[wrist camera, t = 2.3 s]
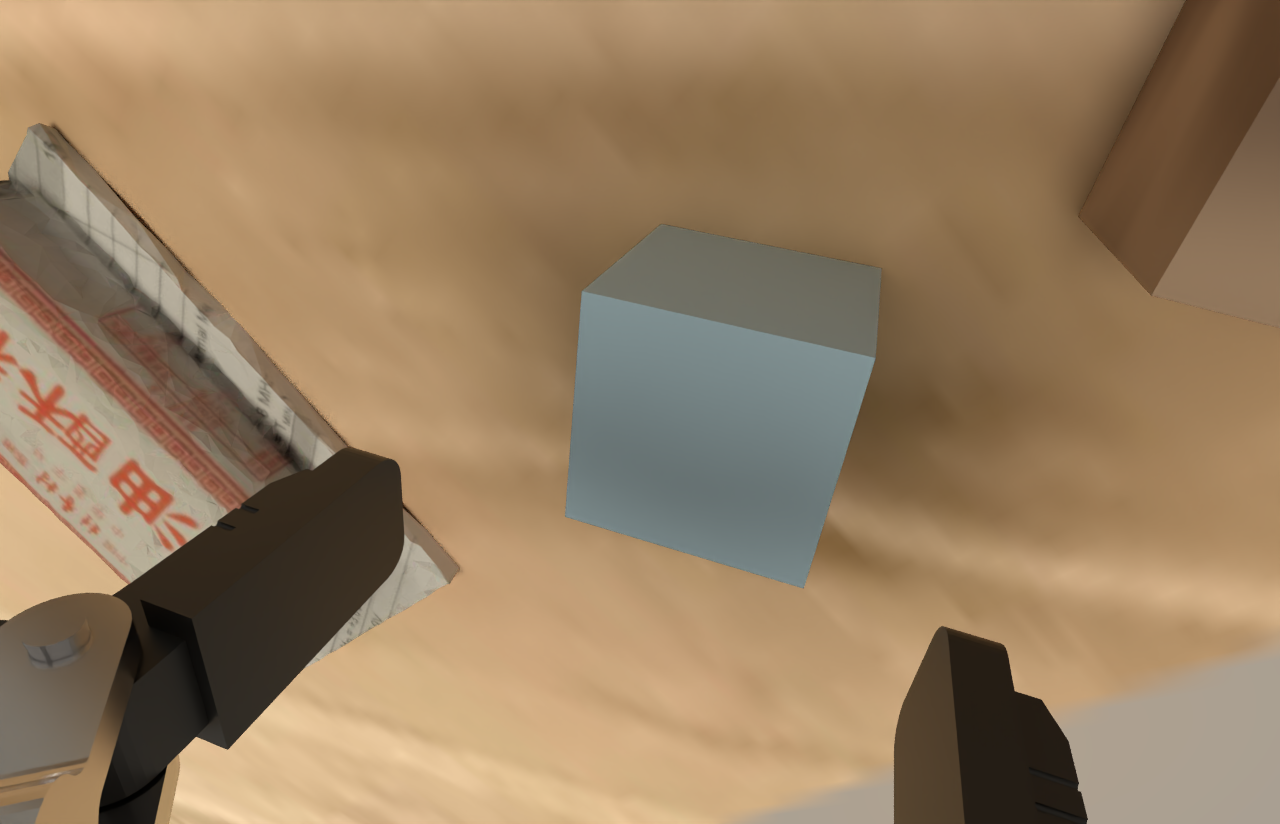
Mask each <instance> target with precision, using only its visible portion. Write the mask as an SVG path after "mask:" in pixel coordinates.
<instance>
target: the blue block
mask: <svg viewBox="0 0 1280 824" xmlns="http://www.w3.org/2000/svg"><path fill="white" fill-rule="evenodd" d="M881 272H882V268H878V267H873V266H868V265H863V264H858V263H853V262H848V261H843V260H838V259H833V258H828V257H823V256H818V255H813V254H808V253H803V252H798V251H793V250H788V249H783V248H778V247H773V246H768V245H763V244H758V243H753V242H749V241H744V240H739V239H734V238H729V237H724V236H719V235H714V234H709V233H704V232H699V231H694V230H689V229H684V228H679V227H674V226H669V225H664V224H661V225H659V226H658V227H657V228H656V229H655V230H653V231H652V232H651V233H650V234H649V235H648V236H646V237H645V238H644V239H643V240H642V241H640V242H639V243H638V244H637V245H636V246H635V247H633V248H632V249H631V250H630V251H629V252H627V253H626V254H625V255H624V256H623V257H622V258H620V259H619V260H618V261H617V262H616V263H614V264H613V265H612V266H611V267H610V268H609V269H607V270H606V271H605V272H604V273H603V274H601V275H600V276H599V277H598V278H597V279H596V280H594V281H593V282H592V283H591V284H590V285H588V286H587V287H586V288H585V289H584V290H583V291H582V296H581V309H580V323H579V336H578V350H577V363H576V377H575V390H574V404H573V417H572V431H571V444H570V458H569V471H568V485H567V498H566V511H565V517H568V518H571V519H574V520H578V521H581V522H584V523H588V524H591V525H594V526H598V527H601V528H604V529H608V530H611V531H614V532H617V533H621V534H624V535H627V536H631V537H634V538H637V539H641V540H644V541H647V542H651V543H654V544H657V545H661V546H664V547H667V548H671V549H674V550H677V551H681V552H684V553H687V554H691V555H694V556H697V557H701V558H704V559H707V560H711V561H714V562H717V563H721V564H724V565H727V566H731V567H734V568H737V569H741V570H744V571H747V572H751V573H754V574H757V575H761V576H764V577H767V578H771V579H774V580H777V581H780V582H784V583H787V584H790V585H794V586H797V587H800V588H804V586H805V582H806V579H807V576H808V573H809V570H810V566H811V563H812V560H813V557H814V554H815V550H816V547H817V544H818V541H819V538H820V534H821V531H822V528H823V525H824V522H825V518H826V515H827V512H828V509H829V506H830V503H831V499H832V496H833V493H834V490H835V487H836V483H837V480H838V477H839V474H840V471H841V467H842V464H843V461H844V458H845V455H846V451H847V448H848V445H849V442H850V439H851V435H852V432H853V429H854V426H855V423H856V419H857V416H858V413H859V410H860V407H861V403H862V400H863V397H864V394H865V391H866V387H867V384H868V381H869V378H870V375H871V372H872V368H873V365H874V362H875V359H876V346H877V332H878V317H879V302H880V287H881Z"/></svg>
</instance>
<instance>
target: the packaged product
mask: <svg viewBox="0 0 1280 824" xmlns="http://www.w3.org/2000/svg"><path fill="white" fill-rule="evenodd" d="M8 175H9V180H6V181H0V463H1V464H2V465H3V466H4V467H5V468H6V469H7V470H8V471H9V472H10V473H12V474H13V475H14V476H15V477H16V478H17V479H18V480H19V481H21V482H22V483H23V484H24V485H25V486H26V487H27V488H28V489H29V490H30V491H31V492H32V493H33V494H34V495H35V496H36V497H37V498H38V499H39V500H40V501H41V502H42V503H43V504H45V505H46V506H47V507H48V508H49V509H50V510H51V511H52V512H53V513H54V514H55V515H56V516H57V518H58V519H59V520H60V521H62V522H63V523H64V524H65V525H66V526H67V527H68V528H69V529H70V530H71V531H72V532H74V533H75V534H76V535H77V536H78V537H79V538H80V539H81V540H82V541H83V542H84V543H85V544H86V545H88V546H89V547H90V548H91V549H92V550H93V551H94V552H95V553H96V554H97V555H98V556H99V557H100V558H101V559H102V560H103V561H104V562H105V563H106V564H107V565H108V566H109V567H110V568H111V569H112V570H113V571H114V572H115V573H116V574H117V575H118V576H119V577H120V578H121V579H122V580H124V581H125V582H126V583H128V584H130V583H131V582H133V581H134V580H135V579H137V578H138V577H140V576H141V575H142V574H144V573H145V572H147V571H148V570H149V569H151V568H152V567H154V566H155V565H156V564H158V563H159V562H161V561H162V560H163V559H165V558H166V557H168V556H169V555H170V554H172V553H173V552H175V551H176V550H177V549H179V548H180V547H182V546H183V545H184V544H186V543H187V542H189V541H190V540H191V539H193V538H194V537H196V536H197V535H198V534H200V533H201V532H203V531H204V530H205V529H207V528H208V527H210V526H211V525H212V526H216V525H217V522H218V520H219V519H221V518H222V517H224V516H225V515H226V514H228V513H229V512H231V511H232V510H233V509H235V508H238V509H239V508H240V507H241V504H242V503H243V502H244V501H246V500H247V499H249V498H250V497H251V496H253V495H254V494H256V493H257V492H258V491H260V490H261V489H263V488H264V487H265V486H267V485H268V484H270V483H272V482H274V481H277V480H279V479H282V478H284V477H287V476H289V475H292V474H295V473H297V472H300V471H302V470H305V469H309V470H314V469H315V468H316V467H318V466H319V465H320V464H322V463H323V462H324V461H326V460H327V459H328V458H330V457H331V456H332V455H334V454H335V453H336V452H338V451H339V450H341V449H343V448H347V446H346V444H345V443H344V442H343V441H342V440H341V439H340V438H339V437H338V435H337V434H336V433H335V432H334V431H333V430H332V429H331V427H330V426H329V425H328V424H327V423H326V422H325V421H324V420H323V418H322V417H321V416H320V415H319V414H318V413H317V412H316V411H315V409H314V408H313V407H312V406H311V405H310V404H309V403H308V402H307V400H306V399H305V398H304V397H303V396H302V395H301V394H300V393H299V391H298V390H297V389H296V388H295V387H294V386H293V385H292V384H291V383H290V382H289V381H288V380H287V378H286V377H285V376H284V375H283V374H282V373H281V372H280V371H279V370H278V369H277V367H276V366H275V365H274V364H273V363H272V361H271V360H270V359H269V358H268V357H267V355H266V354H265V353H264V352H263V351H262V349H261V348H260V347H259V346H258V345H257V343H256V342H255V341H254V340H253V339H252V338H251V336H250V335H249V334H248V333H247V332H246V331H245V330H244V329H243V328H242V327H241V326H240V324H239V323H238V322H237V321H236V320H234V319H233V318H232V317H231V316H230V314H229V312H228V311H227V310H226V309H225V308H224V307H223V306H222V305H221V304H220V303H219V302H218V301H217V300H216V299H215V298H214V297H213V296H212V295H210V294H209V293H208V292H207V291H206V290H205V289H204V288H203V287H202V286H201V285H200V284H199V283H198V282H197V281H196V280H195V279H194V278H193V277H192V276H191V275H190V274H189V273H188V272H186V270H185V269H184V268H183V267H182V266H181V264H180V263H179V262H178V261H177V260H176V259H175V257H174V256H173V255H172V254H171V253H170V252H169V250H168V249H167V248H166V247H165V246H164V245H163V244H162V243H161V242H160V241H159V240H158V239H157V238H156V237H155V236H154V235H153V234H152V233H151V232H150V231H149V230H148V229H146V228H145V227H144V226H143V225H142V224H141V223H140V222H139V221H138V220H137V219H136V218H135V217H134V215H133V214H132V213H131V212H130V211H129V210H128V208H127V207H126V206H125V205H124V204H123V203H122V201H121V200H120V199H119V198H118V197H117V195H116V194H115V193H114V192H113V191H112V190H111V188H110V187H109V186H108V185H107V184H106V183H105V181H104V180H103V179H102V178H101V177H100V176H99V174H98V173H97V172H96V171H95V170H94V169H93V168H92V167H91V166H90V165H89V164H88V163H87V162H86V161H85V160H84V159H83V158H82V157H81V156H80V155H79V154H78V153H77V152H76V151H75V150H74V149H73V148H72V147H71V146H70V145H69V144H68V143H67V142H66V141H65V140H64V138H63V137H62V136H61V135H60V133H59V132H58V131H57V130H56V129H55V128H52V127H49V126H46V125H43V124H40V123H39V124H36V125H33V126H31V127H28V131H27V135H26V137H25V139H24V141H23V143H22V145H21V148H20V150H19V152H18V154H17V156H16V158H15V160H14V162H13V164H12V166H11V168H10V170H9V172H8ZM403 520H404V547H403V551H402V554H401V557H400V560H399V562H398V564H397V566H396V568H395V569H394V571H393V572H392V574H391V575H390V576H389V578H388V579H387V580H386V581H385V582H384V583H383V584H382V585H381V586H380V587H379V588H378V590H377V591H376V592H375V593H374V594H373V595H372V596H371V597H370V598H369V599H368V600H367V601H366V602H365V603H364V604H363V606H362V607H361V608H360V609H359V610H358V611H357V612H356V613H355V614H354V615H353V616H352V617H351V618H350V619H349V621H348V622H347V623H346V624H345V625H344V626H343V627H342V628H341V629H340V630H339V631H338V632H337V633H336V634H335V636H334V637H333V638H332V639H331V640H330V641H329V642H328V643H327V644H326V645H325V646H324V647H323V648H322V649H321V650H320V652H319V653H318V654H317V655H316V656H315V657H314V658H313V659H312V660H311V661H310V662H309V663H308V664H307V665H306V667H308V666H309V665H311V664H313V663H315V662H317V661H319V660H320V659H322V658H323V657H325V656H326V655H327V654H329V653H331V652H333V651H335V650H337V649H339V648H341V647H342V646H344V645H346V644H347V643H349V642H350V641H352V640H354V639H355V638H357V637H359V636H360V635H362V634H363V633H365V632H367V631H368V630H370V629H372V628H373V627H375V626H377V625H379V624H380V623H382V622H384V621H385V620H387V619H389V618H391V617H392V616H394V615H396V614H398V613H400V612H402V611H403V610H405V609H407V608H409V607H410V606H412V605H413V604H415V603H417V602H418V601H420V600H422V599H424V598H425V597H427V596H429V595H430V594H431V593H433V592H434V591H436V590H437V589H438V588H440V587H442V586H444V585H446V584H450V582H451V581H452V579H453V577H454V576H455V574H456V572H457V571H458V569H459V567H458V566H457V565H456V563H455V562H454V561H453V560H452V559H451V558H450V557H449V555H448V554H447V553H446V552H445V551H444V550H443V549H442V547H441V546H440V545H439V544H438V543H437V542H436V541H435V539H434V538H433V537H432V536H431V535H430V534H429V532H428V531H427V530H426V529H425V528H424V527H423V526H422V525H421V524H419V523H418V522H417V521H416V520H415V519H414V518H413V517H412V516H411V515H410V514H409V513H407V512H406V511H405V510H404V509H403ZM306 667H305V668H306Z"/></svg>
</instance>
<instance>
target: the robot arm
mask: <svg viewBox="0 0 1280 824" xmlns="http://www.w3.org/2000/svg"><path fill="white" fill-rule="evenodd" d="M403 547H404V520H403V504H402V488H401V473H400V468H399V465H398V464H397V462H396V461H394V460H392V459H389V458H386V457H382V456H379V455H376V454H372V453H369V452H366V451H362V450H359V449H355V448H352V447H347V448H343V449H341V450H339V451H338V452H336V453H335V454H334V455H332V456H331V457H330V458H328V459H327V460H326V461H324V462H323V463H322V464H320V465H319V466H318V467H316V468H315V469H314V470H309V469H305V470H302V471H300V472H297V473H295V474H292V475H289V476H287V477H284V478H282V479H279V480H277V481H274V482H272V483H270V484H268V485H267V486H265V487H264V488H263V489H261V490H260V491H258V492H257V493H256V494H254V495H253V496H251V497H250V498H249V499H247V500H246V501H244V502H243V503H242V504H241V507H240V508H239V509H238V508H235V509H233V510H232V511H231V512H229V513H228V514H226V515H225V516H224V517H222V518H221V519H219V520H218V522H217V525H216V526H212V525H211V526H210V527H208V528H207V529H205V530H204V531H203V532H201V533H200V534H198V535H197V536H196V537H194V538H193V539H191V540H190V541H189V542H187V543H186V544H184V545H183V546H182V547H180V548H179V549H177V550H176V551H175V552H173V553H172V554H170V555H169V556H168V557H166V558H165V559H163V560H162V561H161V562H159V563H158V564H156V565H155V566H154V567H152V568H151V569H149V570H148V571H147V572H145V573H144V574H142V575H141V576H140V577H138V578H137V579H135V580H134V581H133V582H131V583H130V584H128V585H127V586H126V587H124V588H123V589H121V590H120V591H118V592H117V593H115V594H114V595H112V596H111V595H108V594H102V593H80V594H72V595H67V596H62V597H59V598H55V599H51V600H48V601H46V602H43V603H40V604H38V605H35V606H33V607H31V608H29V609H27V610H25V611H23V612H21V613H19V614H18V615H16V616H14V617H13V618H11V619H10V620H0V824H169V821H170V816H171V811H172V806H173V801H174V796H175V791H176V786H177V781H178V776H179V771H180V760H179V755H178V754H179V753H180V752H181V751H182V750H183V749H184V748H185V747H186V746H187V745H188V744H189V743H190V742H191V741H192V740H193V739H194V738H195V737H198V738H201V739H203V740H206V741H208V742H210V743H213V744H215V745H217V746H220V747H222V748H225V749H227V750H228V749H229V748H230V747H231V746H232V745H233V744H234V742H235V741H236V740H237V739H238V738H239V737H240V736H241V735H242V734H243V733H244V732H245V731H246V730H247V729H248V728H249V726H250V725H251V724H252V723H253V722H254V721H255V720H256V719H257V718H258V717H259V716H260V715H261V714H262V713H263V711H264V710H265V709H266V708H267V707H268V706H269V705H270V704H271V703H272V702H273V701H274V700H275V699H276V698H277V696H278V695H279V694H280V693H281V692H282V691H283V690H284V689H285V688H286V687H287V686H288V685H289V684H290V683H291V682H292V680H293V679H294V678H295V677H296V676H297V675H298V674H299V673H300V672H301V671H302V670H303V669H304V668H305V667H306V665H307V664H308V663H309V662H310V661H311V660H312V659H313V658H314V657H315V656H316V655H317V654H318V653H319V652H320V650H321V649H322V648H323V647H324V646H325V645H326V644H327V643H328V642H329V641H330V640H331V639H332V638H333V637H334V636H335V634H336V633H337V632H338V631H339V630H340V629H341V628H342V627H343V626H344V625H345V624H346V623H347V622H348V621H349V619H350V618H351V617H352V616H353V615H354V614H355V613H356V612H357V611H358V610H359V609H360V608H361V607H362V606H363V604H364V603H365V602H366V601H367V600H368V599H369V598H370V597H371V596H372V595H373V594H374V593H375V592H376V591H377V590H378V588H379V587H380V586H381V585H382V584H383V583H384V582H385V581H386V580H387V579H388V578H389V576H390V575H391V574H392V572H393V571H394V569H395V568H396V566H397V564H398V562H399V560H400V557H401V554H402V551H403ZM1078 784H1079V782H1078V778H1077V774H1076V770H1075V766H1074V762H1073V758H1072V754H1071V749H1070V745H1069V742H1068V740H1067V738H1066V737H1065V735H1064V734H1063V732H1062V730H1061V729H1060V727H1059V726H1058V724H1057V723H1056V721H1055V720H1054V718H1053V717H1052V715H1051V714H1050V712H1049V711H1048V709H1047V707H1046V706H1045V704H1044V703H1043V701H1042V700H1041V699H1038V698H1034V697H1031V696H1028V695H1025V694H1022V693H1018V692H1015V691H1014V686H1013V680H1012V675H1011V669H1010V664H1009V658H1008V654H1007V650H1006V648H1005V647H1004V645H1002V644H1001V643H997V642H994V641H990V640H987V639H984V638H980V637H977V636H974V635H970V634H967V633H964V632H960V631H957V630H954V629H950V628H947V627H944V626H941V627H940V628H939V629H938V630H937V631H936V633H935V635H934V637H933V639H932V641H931V643H930V645H929V647H928V650H927V652H926V654H925V656H924V658H923V660H922V663H921V665H920V667H919V669H918V671H917V674H916V676H915V678H914V680H913V682H912V685H911V687H910V689H909V691H908V693H907V696H906V698H905V700H904V702H903V705H902V708H901V711H900V715H899V719H898V723H897V728H896V735H895V744H894V824H1087V820H1088V818H1087V814H1086V810H1085V806H1084V802H1083V798H1082V794H1081V792H1079V791H1078Z"/></svg>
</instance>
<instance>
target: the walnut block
mask: <svg viewBox="0 0 1280 824" xmlns="http://www.w3.org/2000/svg"><path fill="white" fill-rule="evenodd" d="M1078 217H1079V218H1080V219H1081V220H1082V221H1083V222H1084V223H1085V224H1086V225H1087V226H1088V228H1089V229H1090V230H1091V231H1092V232H1093V233H1094V234H1095V235H1096V236H1097V237H1098V238H1099V239H1100V241H1101V242H1102V243H1103V244H1104V245H1105V246H1106V247H1107V248H1108V249H1109V250H1110V251H1111V252H1112V254H1113V255H1114V256H1115V257H1116V258H1117V259H1118V260H1119V261H1120V262H1121V263H1122V264H1123V265H1124V267H1125V268H1126V269H1127V270H1128V271H1129V272H1130V273H1131V274H1132V275H1133V276H1134V277H1135V279H1136V280H1137V281H1138V282H1139V283H1140V284H1141V285H1142V286H1143V287H1144V288H1145V289H1146V290H1147V292H1148V293H1149V294H1150V295H1151V296H1155V297H1159V298H1163V299H1167V300H1171V301H1175V302H1179V303H1183V304H1186V305H1190V306H1194V307H1198V308H1202V309H1206V310H1210V311H1214V312H1218V313H1222V314H1226V315H1230V316H1234V317H1238V318H1242V319H1246V320H1250V321H1254V322H1258V323H1261V324H1265V325H1269V326H1273V327H1277V328H1280V0H1186V1H1185V3H1184V5H1183V7H1182V9H1181V11H1180V13H1179V15H1178V17H1177V19H1176V21H1175V23H1174V25H1173V27H1172V29H1171V31H1170V33H1169V35H1168V37H1167V39H1166V41H1165V43H1164V45H1163V47H1162V49H1161V51H1160V53H1159V55H1158V57H1157V59H1156V61H1155V63H1154V65H1153V67H1152V69H1151V71H1150V73H1149V75H1148V77H1147V79H1146V81H1145V83H1144V85H1143V87H1142V89H1141V91H1140V93H1139V95H1138V97H1137V99H1136V102H1135V104H1134V106H1133V108H1132V110H1131V112H1130V114H1129V116H1128V118H1127V120H1126V122H1125V124H1124V126H1123V128H1122V130H1121V132H1120V134H1119V136H1118V138H1117V140H1116V142H1115V144H1114V146H1113V148H1112V150H1111V152H1110V154H1109V156H1108V158H1107V160H1106V162H1105V164H1104V166H1103V168H1102V170H1101V172H1100V174H1099V176H1098V178H1097V180H1096V182H1095V184H1094V186H1093V188H1092V190H1091V192H1090V194H1089V196H1088V198H1087V200H1086V202H1085V204H1084V206H1083V208H1082V210H1081V212H1080V214H1079V216H1078Z"/></svg>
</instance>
